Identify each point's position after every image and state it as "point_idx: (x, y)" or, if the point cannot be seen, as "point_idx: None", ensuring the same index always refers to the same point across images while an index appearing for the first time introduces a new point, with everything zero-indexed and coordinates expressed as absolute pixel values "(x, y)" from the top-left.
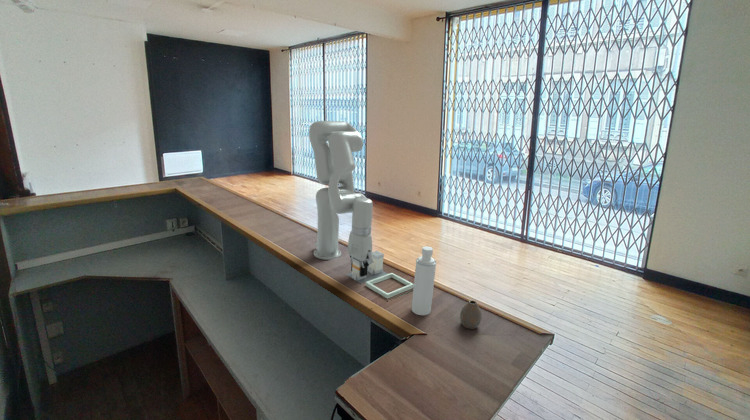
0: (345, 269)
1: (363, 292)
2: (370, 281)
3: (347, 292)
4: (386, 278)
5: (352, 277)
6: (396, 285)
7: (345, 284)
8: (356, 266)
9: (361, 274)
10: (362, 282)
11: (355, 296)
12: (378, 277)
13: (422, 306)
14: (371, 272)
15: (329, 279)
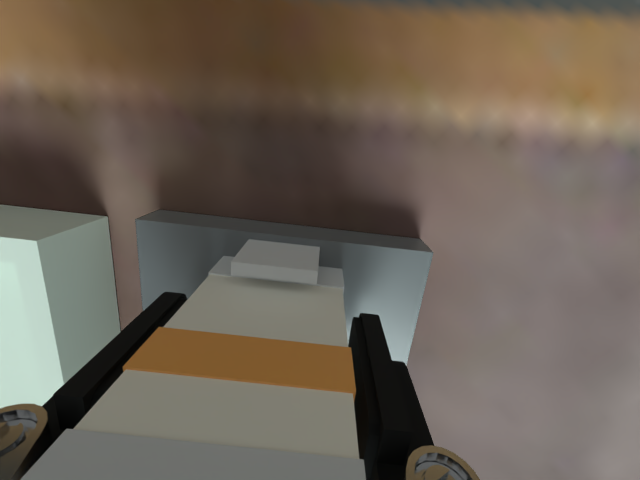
0: (532, 358)
1: (60, 152)
2: (23, 292)
3: (148, 4)
4: None
5: (303, 248)
6: None
7: (309, 132)
8: (204, 374)
9: (151, 312)
10: (154, 253)
11: (21, 10)
12: None
13: None
14: None
15: (532, 72)
